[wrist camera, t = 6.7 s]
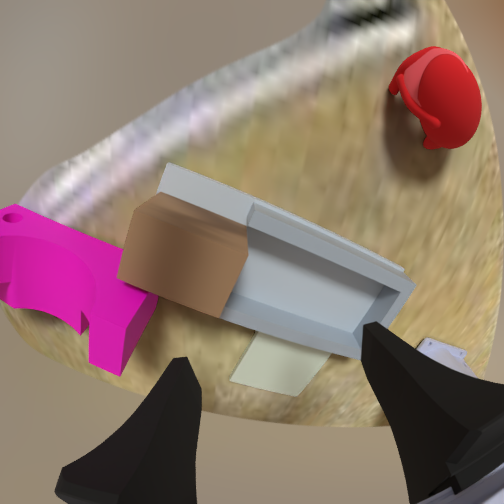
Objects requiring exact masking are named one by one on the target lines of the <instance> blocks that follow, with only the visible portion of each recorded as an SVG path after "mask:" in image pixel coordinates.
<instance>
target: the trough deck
mask: <svg viewBox="0 0 504 504" xmlns="http://www.w3.org/2000/svg"><path fill="white" fill-rule="evenodd" d="M159 192H163V193H166V194H169V195H171V196H174V197H176V198H179V199H181V200H184V201H186V202H189V203H191V204H194V205H196V206H199V207H201V208H204V209H206V210H209V211H211V212H214V213H216V214H219V215H221V216H223V217H226V218H228V219H231V220H233V221H236V222H238V223H240V224H243V225H245V226H246V227H247V241H248V255H249V256H248V258H247V260H246V262H245V264H244V266H243V268H242V270H241V273H240V275H239V277H238V279H237V281H236V283H235V285H234V287H233V289H232V292H231V294H230V296H229V298H228V300H227V302H226V304H225V306H224V308H223V310H222V313H221V315H220V317H219V318H220V319H223V320H226V321H229V322H232V323H235V324H238V325H241V326H244V327H247V328H250V329H253V330H256V331H259V332H262V333H265V334H269V335H272V336H275V337H278V338H281V339H285V340H288V341H291V342H295V343H298V344H302V345H305V346H309V347H312V348H316V349H319V350H323V351H327V352H330V353H334V354H338V355H342V356H346V357H350V358H354V359H358V360H361V349H362V334H363V325H364V324H368V323H371V322H375V321H377V322H378V323H380V324H381V325H383V326H384V327H385V328H388V327H389V326H390V324H391V323H392V321H393V320H394V319H395V317H396V316H397V314H398V313H399V311H400V310H401V308H402V307H403V305H404V304H405V302H406V301H407V299H408V298H409V296H410V295H411V293H412V291H413V290H414V288H415V287H416V284H415V283H414V282H413V281H412V280H411V279H410V278H409V277H408V276H407V275H406V274H405V273H404V272H403V271H404V270H405V269H404V268H403V267H401V266H400V265H398V264H396V263H394V262H392V261H390V260H388V259H386V258H384V257H382V256H380V255H378V254H376V253H374V252H372V251H370V250H368V249H366V248H364V247H362V246H360V245H358V244H356V243H354V242H352V241H350V240H348V239H346V238H344V237H342V236H340V235H338V234H336V233H334V232H332V231H330V230H327V229H325V228H323V227H321V226H319V225H317V224H315V223H313V222H310V221H308V220H306V219H304V218H302V217H299V216H297V215H295V214H293V213H291V212H288V211H286V210H284V209H282V208H279V207H277V206H275V205H273V204H270V203H268V202H266V201H264V200H261V199H259V198H257V197H254V196H252V195H250V194H247V193H245V192H243V191H240V190H238V189H235V188H233V187H231V186H228V185H226V184H223V183H221V182H218V181H216V180H214V179H211V178H209V177H206V176H204V175H201V174H199V173H196V172H194V171H191V170H188V169H186V168H183V167H181V166H178V165H175V164H173V163H170V162H169V163H167V166H166V168H165V171H164V174H163V176H162V179H161V182H160V185H159V187H158V190H157V193H156V194H158V193H159Z"/></svg>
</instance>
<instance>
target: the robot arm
mask: <svg viewBox="0 0 504 504" xmlns="http://www.w3.org/2000/svg"><path fill="white" fill-rule="evenodd" d="M466 355H467V351H466V350H464V349H461V348H458V347H455V346H452V345H449V344H446V343H443V342H440V341H437V340H434V339H431V338H425V339H424V340H423V341H422V342H421V344H420V345H419V346H418V347H417V349H415V348H413V347H412V346H410V345H409V344H408V343H406V342H405V341H403V340H402V339H400V338H399V337H398V336H396V335H395V334H393V333H392V332H391V331H389V330H388V329H387V328H385V327H384V326H383V325H381V324H380V323H378V322H377V321H375V322H371V323H368V324H364V325H363V334H362V349H361V362H362V365H363V368H364V371H365V374H366V377H367V379H368V381H369V383H370V385H371V387H372V389H373V391H374V393H375V395H376V397H377V399H378V401H379V403H380V405H381V407H382V409H383V411H384V413H385V415H386V417H387V419H388V422H389V424H390V426H391V429H392V432H393V435H394V438H395V441H396V445H397V448H398V451H399V455H400V458H401V462H402V466H403V470H404V475H405V479H406V484H407V490H408V496H409V503H410V504H504V384H498V383H493V382H489V381H485V380H481V379H478V378H477V376H476V375H475V374H474V372H473V371H472V370H471V369H470V367H469V366H468V365H467V363H466V362H465V361H464V360H463V359H464V357H465V356H466ZM201 410H202V391H201V387H200V384H199V382H198V380H197V378H196V376H195V374H194V371H193V369H192V367H191V365H190V362H189V360H188V358H187V357H180V358H173V359H172V361H171V362H170V364H169V365H168V367H167V368H166V369H165V371H164V372H163V374H162V375H161V377H160V378H159V380H158V381H157V383H156V384H155V386H154V387H153V388H152V390H151V391H150V393H149V394H148V395H147V397H146V398H145V399H144V401H143V402H142V403H141V404H140V406H139V407H138V408H137V409H136V411H135V412H134V413H133V414H132V415H131V417H130V418H129V419H128V420H127V421H126V422H125V423H124V424H123V425H122V426H121V427H120V428H119V429H118V430H117V431H115V432H114V433H113V434H112V435H111V436H110V437H109V438H107V439H106V440H105V441H104V442H103V443H101V444H100V445H99V446H97V447H96V448H95V449H93V450H92V451H91V452H89V453H87V454H86V455H85V456H83V457H81V458H80V459H78V460H76V461H74V462H72V463H70V464H68V465H67V466H65V467H63V468H62V470H61V473H60V476H59V479H58V482H57V485H56V488H55V494H56V495H57V496H58V497H59V498H60V499H62V500H63V501H65V502H66V503H68V504H197V497H196V469H195V468H196V467H195V461H196V449H197V441H198V434H199V426H200V418H201Z"/></svg>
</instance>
